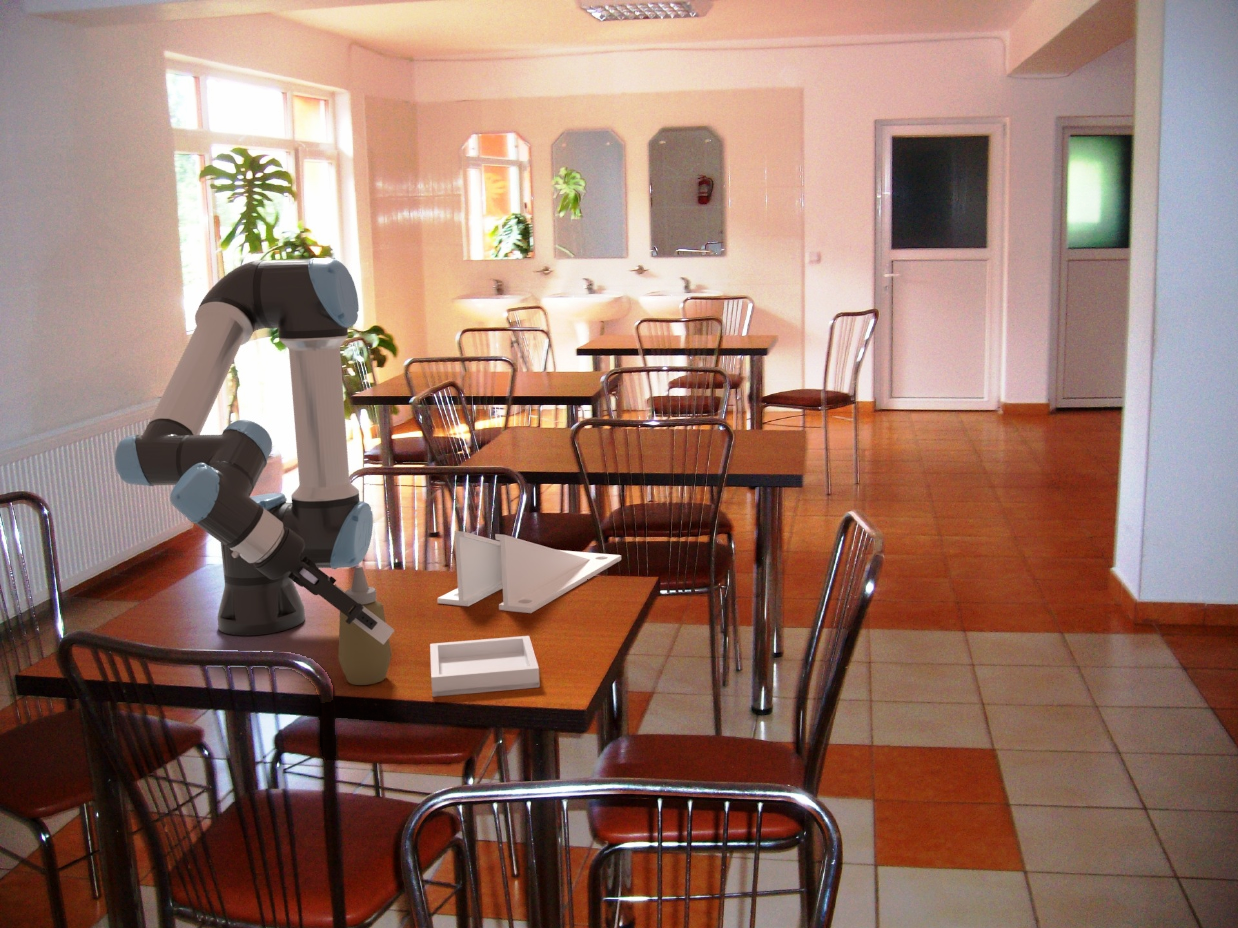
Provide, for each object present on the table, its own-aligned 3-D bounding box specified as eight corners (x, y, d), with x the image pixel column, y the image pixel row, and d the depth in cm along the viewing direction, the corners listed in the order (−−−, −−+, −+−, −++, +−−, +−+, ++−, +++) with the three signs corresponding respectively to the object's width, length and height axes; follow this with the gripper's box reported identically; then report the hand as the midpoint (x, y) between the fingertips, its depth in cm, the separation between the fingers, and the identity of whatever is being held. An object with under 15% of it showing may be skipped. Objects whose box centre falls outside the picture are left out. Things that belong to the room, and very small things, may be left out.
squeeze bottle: (380, 690, 182) (372, 575, 179) (331, 687, 183) (322, 573, 180) (400, 671, 190) (393, 561, 186) (353, 669, 191) (345, 560, 188)
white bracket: (433, 529, 224) (535, 488, 260) (437, 603, 226) (537, 552, 262) (527, 536, 216) (619, 493, 252) (530, 613, 218) (621, 559, 254)
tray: (432, 696, 178) (431, 677, 178) (431, 661, 194) (430, 643, 193) (539, 687, 181) (538, 668, 180) (529, 653, 196) (529, 635, 196)
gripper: (233, 548, 186) (335, 624, 196) (271, 584, 164) (384, 667, 174) (265, 510, 187) (365, 587, 197) (307, 541, 166) (417, 626, 176)
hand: (374, 625), depth 186 cm, fingers open, 13 cm apart
